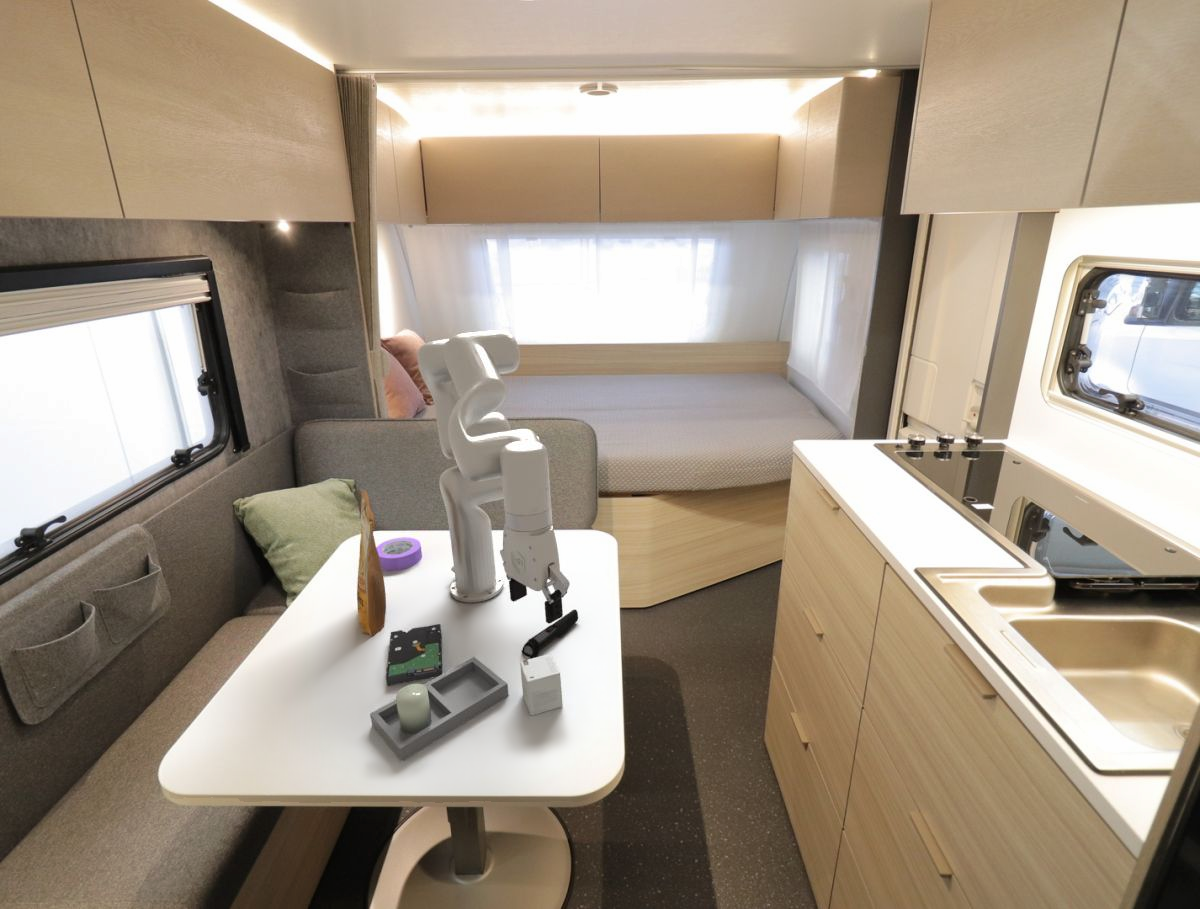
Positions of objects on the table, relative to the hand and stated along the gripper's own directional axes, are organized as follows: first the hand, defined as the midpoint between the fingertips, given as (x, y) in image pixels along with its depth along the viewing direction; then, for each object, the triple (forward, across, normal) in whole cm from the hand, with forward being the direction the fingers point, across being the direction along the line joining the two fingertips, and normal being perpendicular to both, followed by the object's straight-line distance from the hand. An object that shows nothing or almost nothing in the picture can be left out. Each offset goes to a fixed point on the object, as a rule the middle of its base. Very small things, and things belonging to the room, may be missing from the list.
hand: (536, 608), depth 104 cm
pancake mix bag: (+19, -48, -9) cm, 53 cm away
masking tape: (+18, -69, +7) cm, 72 cm away
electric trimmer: (+19, -13, +13) cm, 27 cm away
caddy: (+19, -11, -14) cm, 26 cm away
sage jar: (+18, -11, -19) cm, 29 cm away
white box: (+19, 0, 0) cm, 19 cm away
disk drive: (+20, -28, -10) cm, 36 cm away
